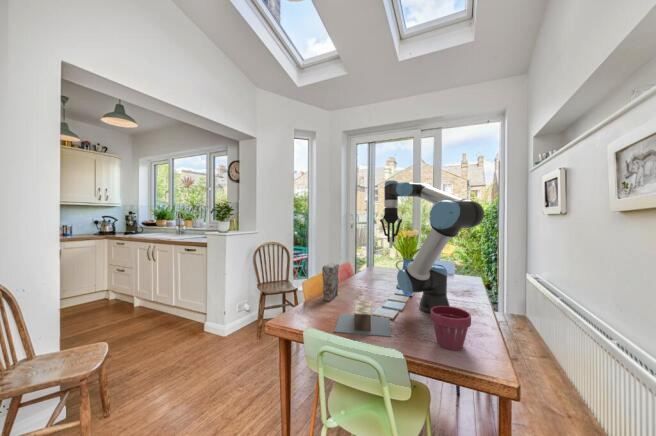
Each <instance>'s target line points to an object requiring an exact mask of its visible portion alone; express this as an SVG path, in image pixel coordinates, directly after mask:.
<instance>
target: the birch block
mask: <svg viewBox="0 0 656 436" xmlns="http://www.w3.org/2000/svg"><path fill="white" fill-rule="evenodd" d="M372 302H373V301H372V300H360V299H358V300H356V304H355V305H356V306H355V308H354V309H355V310H354V314H353V315H354V330H359V331H371V316H373V314H372V313H373V312H372V307H373V305H372V304H373V303H372Z"/></svg>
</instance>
